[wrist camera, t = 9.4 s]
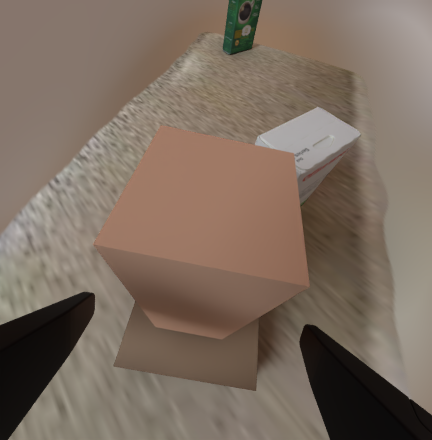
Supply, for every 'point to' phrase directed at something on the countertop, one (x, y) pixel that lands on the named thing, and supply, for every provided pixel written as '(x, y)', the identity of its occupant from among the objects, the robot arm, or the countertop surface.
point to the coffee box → (241, 25)
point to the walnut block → (190, 353)
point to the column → (207, 233)
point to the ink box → (312, 146)
